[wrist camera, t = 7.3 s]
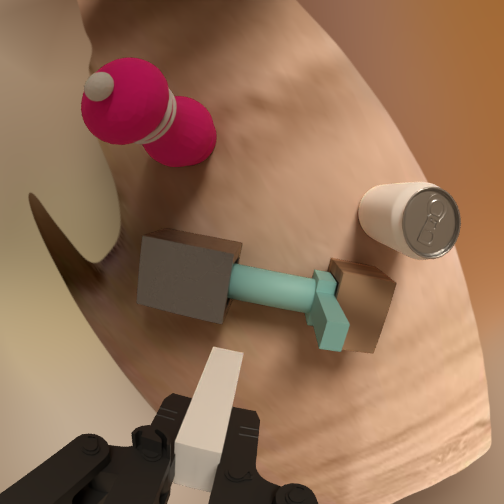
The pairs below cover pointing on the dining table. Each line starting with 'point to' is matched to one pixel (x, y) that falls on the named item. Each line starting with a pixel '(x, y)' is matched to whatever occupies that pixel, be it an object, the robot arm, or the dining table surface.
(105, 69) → the pepper mill
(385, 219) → the can
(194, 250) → the gray block
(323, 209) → the dining table surface
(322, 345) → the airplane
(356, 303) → the socket
